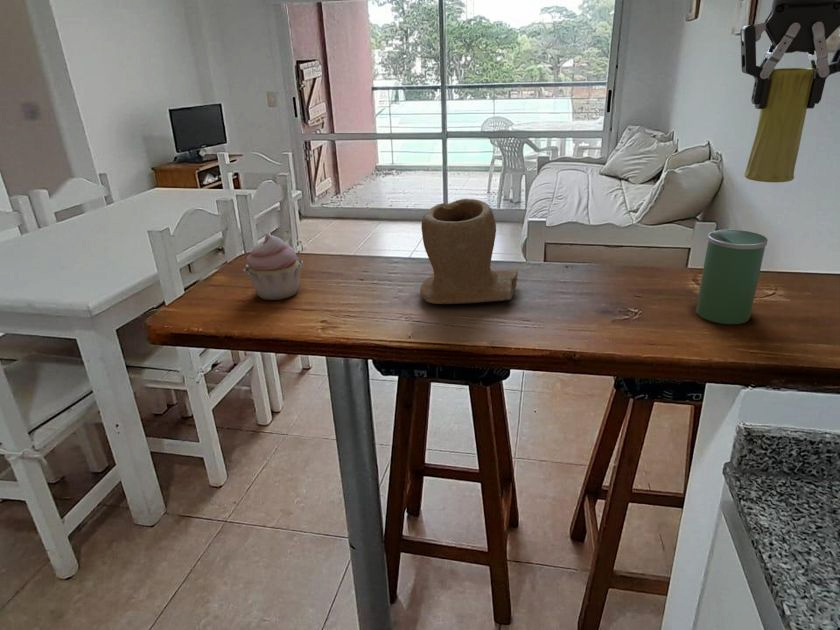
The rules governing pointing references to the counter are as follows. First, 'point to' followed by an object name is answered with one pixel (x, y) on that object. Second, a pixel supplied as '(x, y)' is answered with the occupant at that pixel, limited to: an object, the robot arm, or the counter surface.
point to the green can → (730, 276)
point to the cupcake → (274, 269)
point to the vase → (780, 126)
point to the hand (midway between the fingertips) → (783, 107)
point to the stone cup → (463, 255)
